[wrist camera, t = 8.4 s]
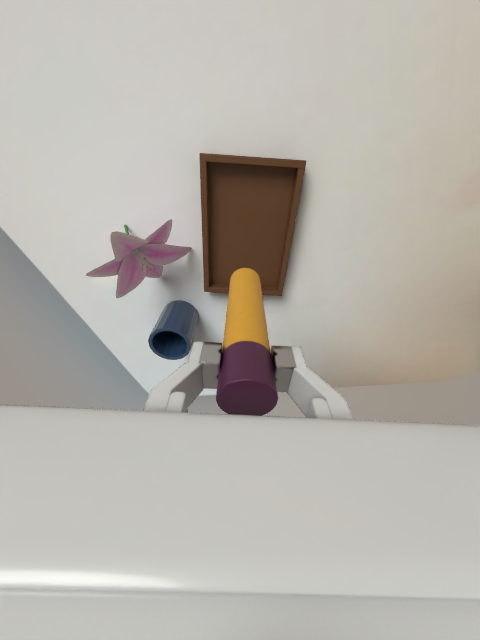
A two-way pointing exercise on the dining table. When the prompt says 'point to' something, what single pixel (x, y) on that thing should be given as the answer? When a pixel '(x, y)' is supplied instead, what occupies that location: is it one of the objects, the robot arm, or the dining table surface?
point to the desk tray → (248, 218)
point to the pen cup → (174, 331)
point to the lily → (139, 258)
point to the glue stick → (246, 351)
